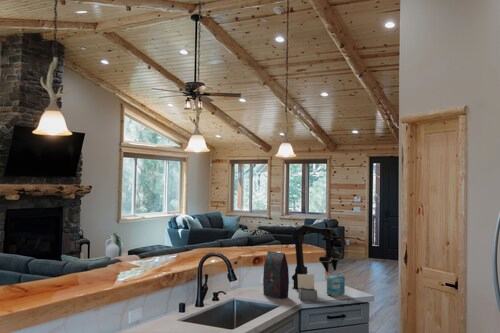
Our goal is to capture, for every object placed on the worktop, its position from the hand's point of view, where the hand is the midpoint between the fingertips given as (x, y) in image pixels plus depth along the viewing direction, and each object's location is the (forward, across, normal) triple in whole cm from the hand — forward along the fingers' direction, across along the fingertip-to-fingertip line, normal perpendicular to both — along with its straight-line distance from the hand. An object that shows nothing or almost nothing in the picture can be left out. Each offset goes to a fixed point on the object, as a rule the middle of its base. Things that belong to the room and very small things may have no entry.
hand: (331, 271), depth 294 cm
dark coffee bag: (+14, -28, +25) cm, 40 cm away
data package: (+16, +3, 0) cm, 16 cm away
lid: (+4, -18, +8) cm, 20 cm away
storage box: (+15, -21, +5) cm, 26 cm away
